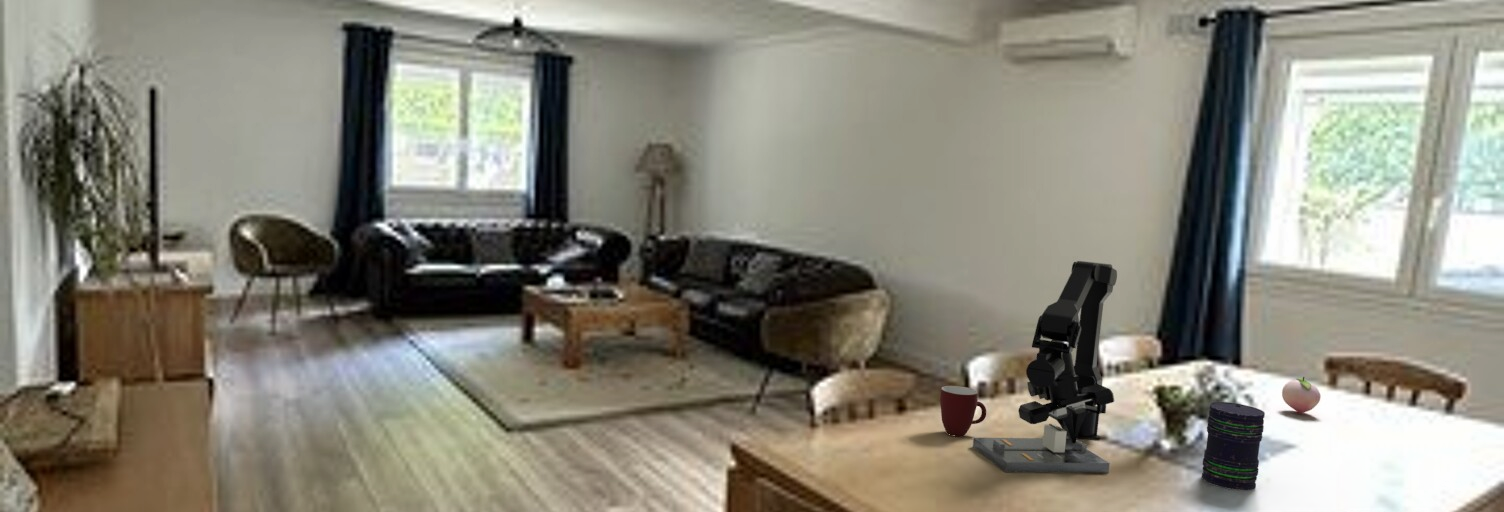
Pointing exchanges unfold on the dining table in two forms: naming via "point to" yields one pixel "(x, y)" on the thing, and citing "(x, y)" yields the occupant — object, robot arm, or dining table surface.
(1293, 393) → the decorative fruit
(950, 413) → the mug
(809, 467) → the dining table surface
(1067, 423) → the robot arm
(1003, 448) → the console
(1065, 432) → the fader
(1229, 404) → the storage jar
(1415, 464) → the dining table surface
